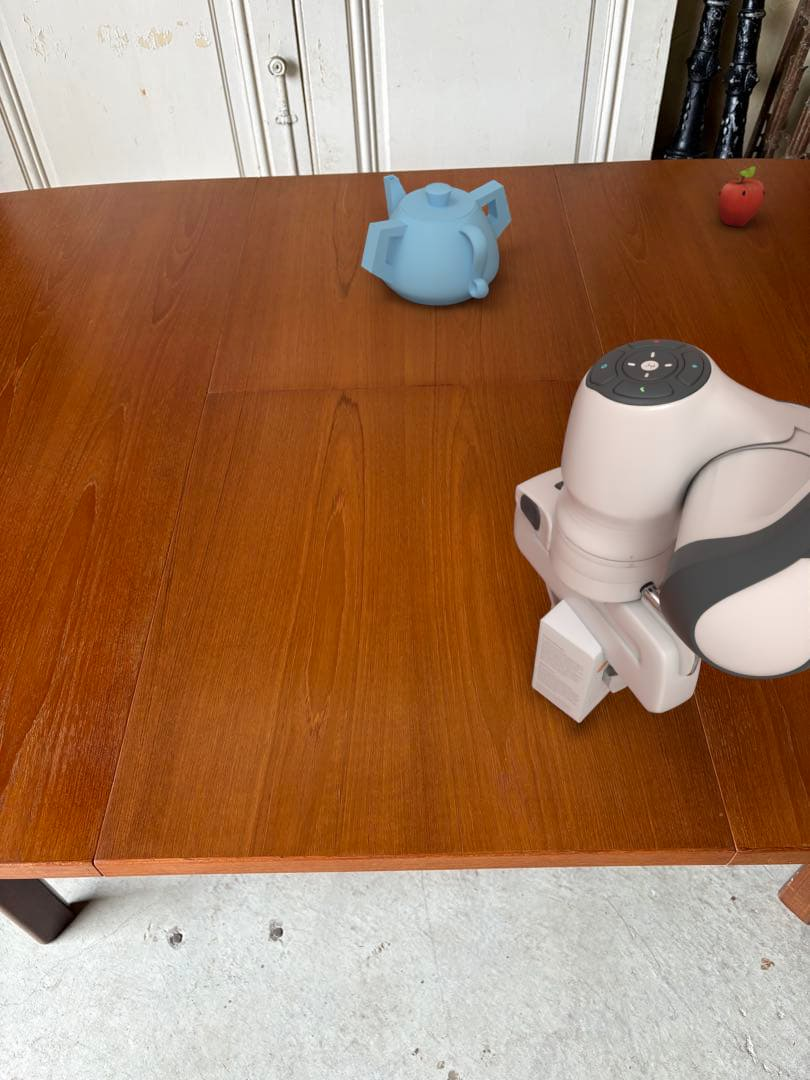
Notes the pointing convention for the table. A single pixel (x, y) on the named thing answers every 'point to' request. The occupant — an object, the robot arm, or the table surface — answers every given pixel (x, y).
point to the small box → (569, 663)
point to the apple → (740, 199)
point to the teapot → (438, 241)
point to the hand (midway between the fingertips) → (587, 648)
